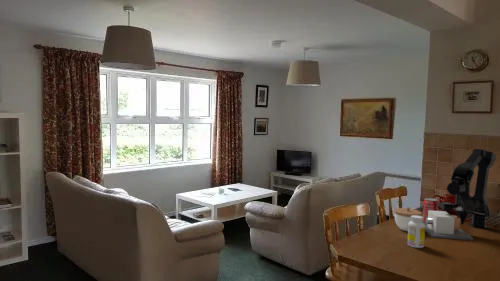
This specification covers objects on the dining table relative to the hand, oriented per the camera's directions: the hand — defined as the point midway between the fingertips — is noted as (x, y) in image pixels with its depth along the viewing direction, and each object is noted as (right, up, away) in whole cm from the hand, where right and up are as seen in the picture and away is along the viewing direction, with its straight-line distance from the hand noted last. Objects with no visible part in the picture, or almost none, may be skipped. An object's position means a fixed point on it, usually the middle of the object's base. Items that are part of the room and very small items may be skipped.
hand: (461, 224), depth 177 cm
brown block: (-9, -2, +2) cm, 9 cm away
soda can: (-8, -4, +17) cm, 19 cm away
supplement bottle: (-31, -5, -19) cm, 37 cm away
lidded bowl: (-25, -4, +5) cm, 25 cm away
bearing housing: (-8, -4, +1) cm, 9 cm away
